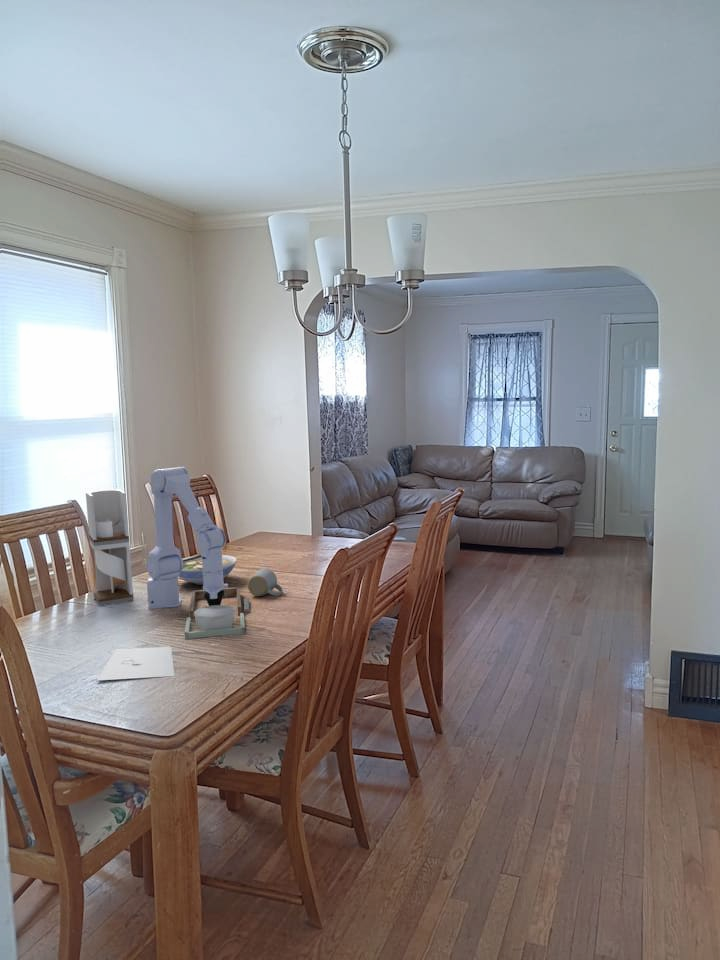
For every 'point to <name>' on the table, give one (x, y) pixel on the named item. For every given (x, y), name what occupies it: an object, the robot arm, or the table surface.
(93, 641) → the table surface
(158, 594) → the robot arm
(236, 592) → the brown wooden flat frame
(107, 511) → the white toy tower
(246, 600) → the grey metal bar
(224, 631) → the sage bay
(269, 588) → the ceramic mug
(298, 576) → the table surface
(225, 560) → the ramen bowl
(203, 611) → the ramekin
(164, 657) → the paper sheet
